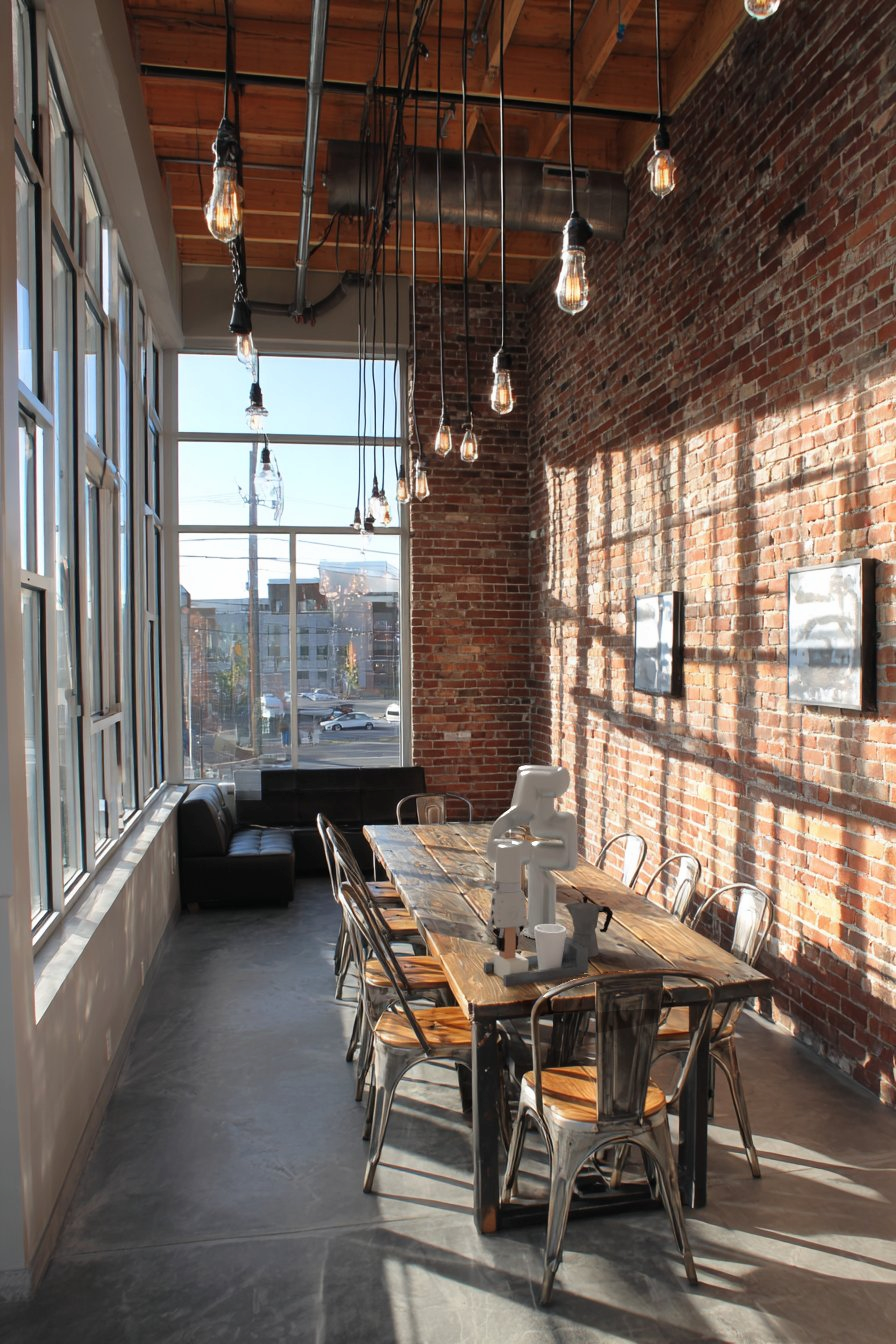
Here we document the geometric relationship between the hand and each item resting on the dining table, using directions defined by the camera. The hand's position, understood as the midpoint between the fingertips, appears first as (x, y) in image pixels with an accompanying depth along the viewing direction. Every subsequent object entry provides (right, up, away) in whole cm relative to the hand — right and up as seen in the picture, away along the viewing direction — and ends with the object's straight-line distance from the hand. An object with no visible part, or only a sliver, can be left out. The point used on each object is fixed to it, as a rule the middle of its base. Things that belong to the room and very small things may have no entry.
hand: (507, 948), depth 275 cm
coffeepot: (+27, -9, +25) cm, 38 cm away
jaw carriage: (+1, -8, +1) cm, 8 cm away
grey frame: (+9, -9, +4) cm, 13 cm away
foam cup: (+13, -9, +6) cm, 17 cm away
